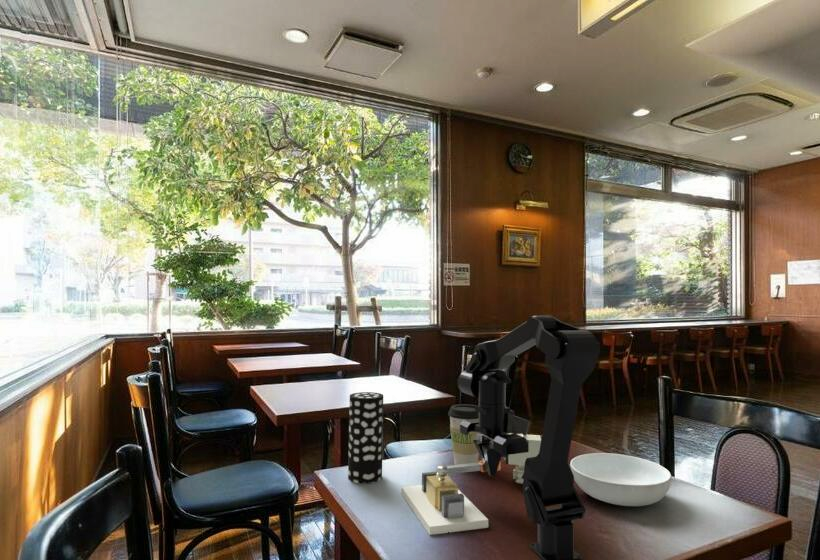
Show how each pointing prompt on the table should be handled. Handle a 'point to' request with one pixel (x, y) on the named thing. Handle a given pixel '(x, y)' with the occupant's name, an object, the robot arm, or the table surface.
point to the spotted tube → (365, 437)
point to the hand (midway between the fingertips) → (492, 476)
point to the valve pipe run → (443, 495)
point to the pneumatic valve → (523, 456)
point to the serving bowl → (621, 478)
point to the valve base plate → (433, 516)
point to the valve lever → (461, 469)
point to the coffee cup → (460, 442)
